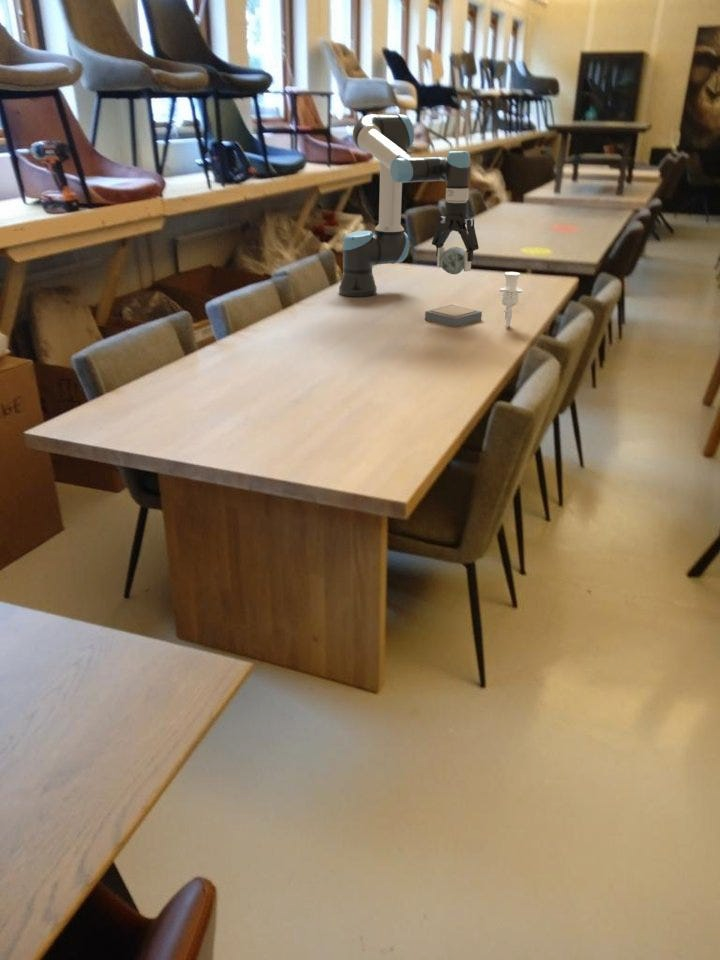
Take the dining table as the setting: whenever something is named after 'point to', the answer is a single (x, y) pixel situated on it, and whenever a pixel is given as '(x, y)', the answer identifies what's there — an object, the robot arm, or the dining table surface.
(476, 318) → the stand
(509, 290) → the figurine
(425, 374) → the dining table surface
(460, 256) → the grey streaked ellipsoid
